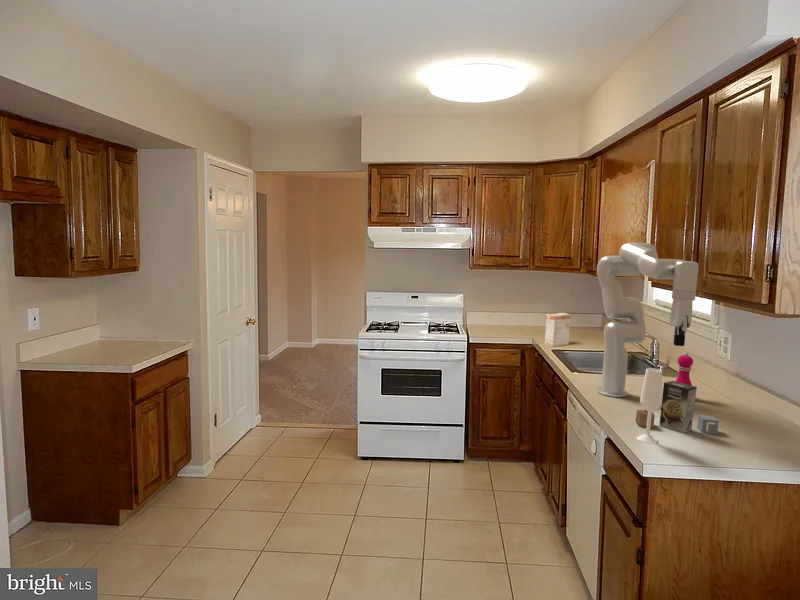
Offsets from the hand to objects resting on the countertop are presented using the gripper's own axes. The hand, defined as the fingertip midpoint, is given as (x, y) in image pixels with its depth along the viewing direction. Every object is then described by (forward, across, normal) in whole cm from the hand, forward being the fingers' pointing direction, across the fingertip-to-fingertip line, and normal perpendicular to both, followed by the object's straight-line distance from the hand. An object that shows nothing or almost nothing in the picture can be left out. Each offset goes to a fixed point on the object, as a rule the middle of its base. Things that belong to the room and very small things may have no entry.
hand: (678, 345), depth 203 cm
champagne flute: (+29, +22, -13) cm, 39 cm away
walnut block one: (+29, +6, -10) cm, 32 cm away
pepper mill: (+29, -38, +14) cm, 50 cm away
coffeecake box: (+29, -140, -31) cm, 146 cm away
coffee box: (+29, +6, 0) cm, 30 cm away
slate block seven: (+29, +6, +10) cm, 32 cm away
